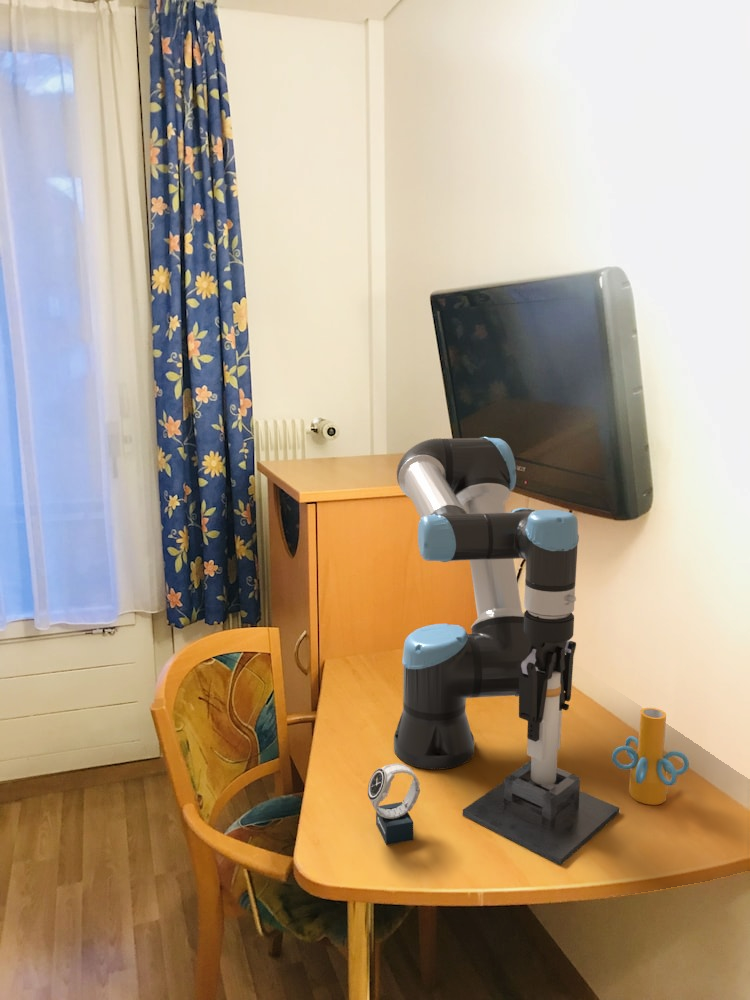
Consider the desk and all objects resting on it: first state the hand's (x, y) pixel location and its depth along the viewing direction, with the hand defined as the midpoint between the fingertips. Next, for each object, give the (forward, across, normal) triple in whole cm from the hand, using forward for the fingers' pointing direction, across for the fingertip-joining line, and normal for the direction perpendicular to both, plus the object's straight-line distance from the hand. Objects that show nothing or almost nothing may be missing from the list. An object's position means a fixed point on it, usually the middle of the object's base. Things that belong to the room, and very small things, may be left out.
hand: (543, 751), depth 123 cm
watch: (+11, -20, +14) cm, 27 cm away
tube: (+5, 0, 0) cm, 5 cm away
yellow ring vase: (+11, +17, -10) cm, 23 cm away
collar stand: (+11, 0, 0) cm, 11 cm away
